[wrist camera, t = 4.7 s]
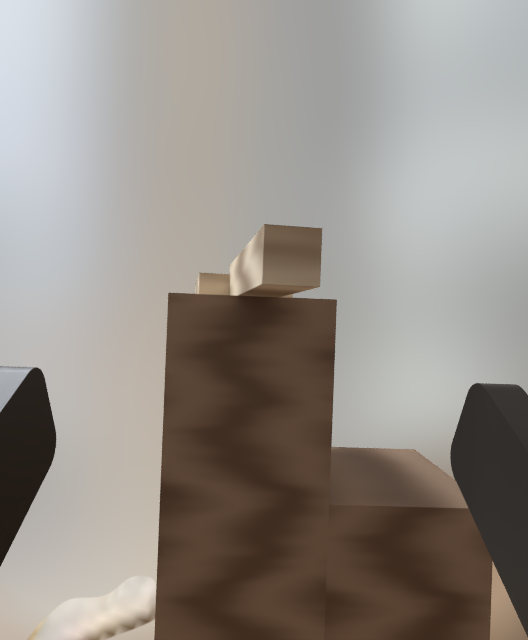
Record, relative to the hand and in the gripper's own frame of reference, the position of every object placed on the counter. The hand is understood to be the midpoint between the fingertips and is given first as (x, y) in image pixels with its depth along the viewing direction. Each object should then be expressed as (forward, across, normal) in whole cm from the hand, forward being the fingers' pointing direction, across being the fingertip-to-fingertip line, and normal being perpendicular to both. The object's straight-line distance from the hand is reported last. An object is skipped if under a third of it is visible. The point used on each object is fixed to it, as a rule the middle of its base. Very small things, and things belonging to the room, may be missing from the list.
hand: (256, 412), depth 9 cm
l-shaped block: (+18, 0, +7) cm, 19 cm away
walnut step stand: (+6, -4, +36) cm, 37 cm away
